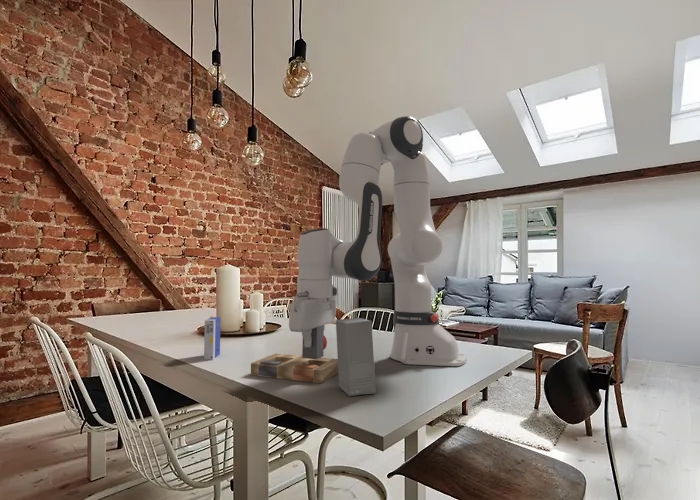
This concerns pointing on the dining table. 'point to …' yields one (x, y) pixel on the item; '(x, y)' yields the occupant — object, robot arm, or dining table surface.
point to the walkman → (212, 338)
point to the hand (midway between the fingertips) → (313, 344)
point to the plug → (315, 344)
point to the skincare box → (355, 356)
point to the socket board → (295, 368)
